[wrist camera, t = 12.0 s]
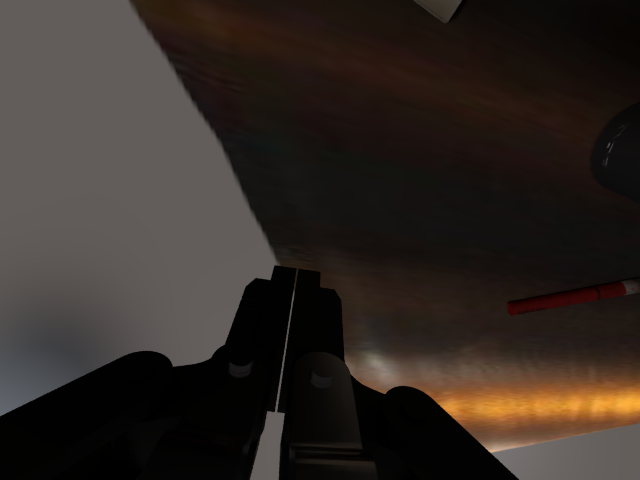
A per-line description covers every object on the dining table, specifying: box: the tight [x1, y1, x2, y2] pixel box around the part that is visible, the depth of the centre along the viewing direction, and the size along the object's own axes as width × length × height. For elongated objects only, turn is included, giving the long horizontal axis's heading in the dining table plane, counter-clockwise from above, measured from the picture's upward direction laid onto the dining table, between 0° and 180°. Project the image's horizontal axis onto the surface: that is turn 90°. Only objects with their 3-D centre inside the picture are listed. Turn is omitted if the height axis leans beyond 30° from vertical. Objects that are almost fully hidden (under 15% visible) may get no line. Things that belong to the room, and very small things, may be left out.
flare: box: [507, 278, 640, 316], centre depth 43 cm, size 2×15×2 cm, turn 105°
